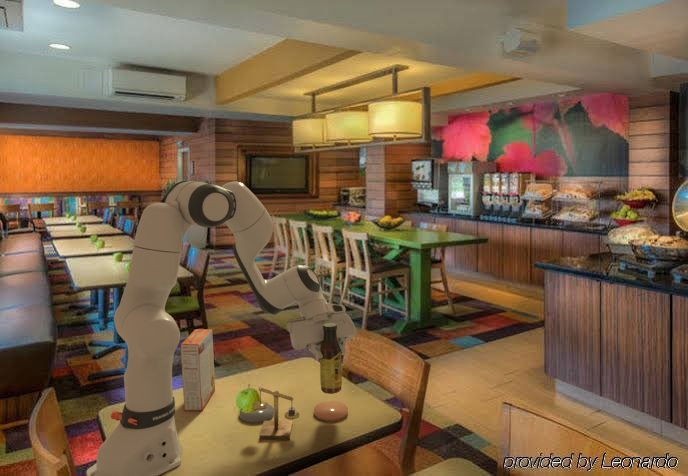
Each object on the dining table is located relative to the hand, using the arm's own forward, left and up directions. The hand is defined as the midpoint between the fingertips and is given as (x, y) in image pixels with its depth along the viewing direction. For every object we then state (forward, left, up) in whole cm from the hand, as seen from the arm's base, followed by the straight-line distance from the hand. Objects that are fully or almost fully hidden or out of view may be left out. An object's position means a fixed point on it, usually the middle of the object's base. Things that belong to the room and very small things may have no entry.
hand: (331, 356), depth 152 cm
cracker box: (-14, +40, -18) cm, 45 cm away
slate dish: (-12, +19, -18) cm, 28 cm away
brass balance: (-17, +8, -18) cm, 25 cm away
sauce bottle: (+1, 0, -11) cm, 11 cm away
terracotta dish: (0, +1, -18) cm, 18 cm away
